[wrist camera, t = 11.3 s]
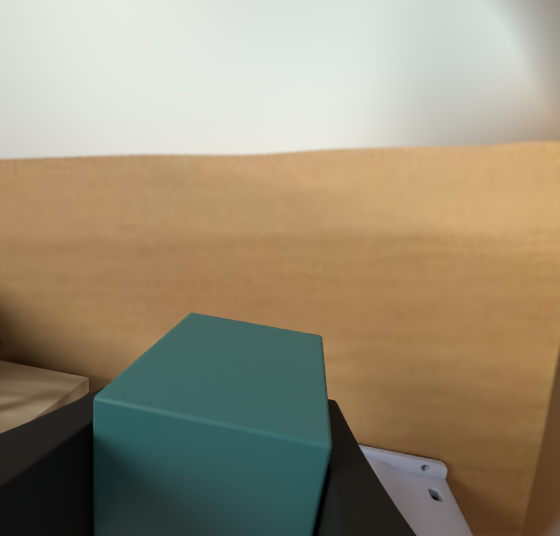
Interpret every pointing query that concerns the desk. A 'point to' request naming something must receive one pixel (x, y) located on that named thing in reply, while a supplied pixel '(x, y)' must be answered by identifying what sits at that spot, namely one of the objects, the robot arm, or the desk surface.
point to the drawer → (34, 392)
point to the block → (214, 434)
